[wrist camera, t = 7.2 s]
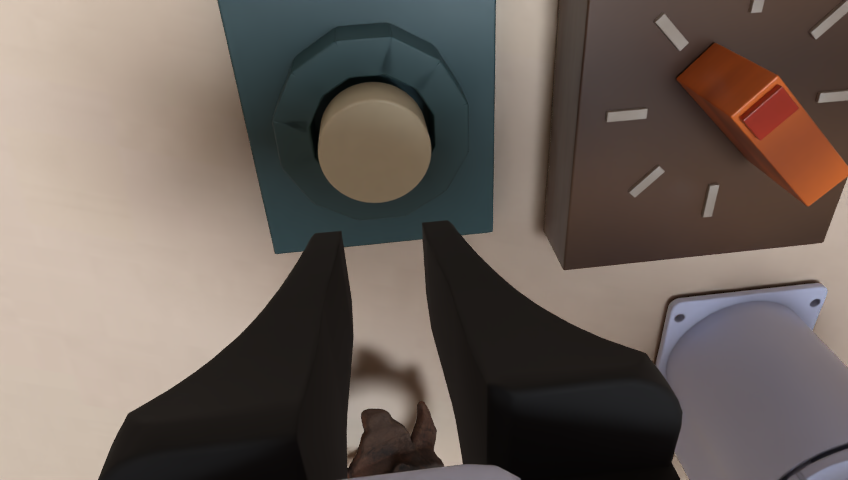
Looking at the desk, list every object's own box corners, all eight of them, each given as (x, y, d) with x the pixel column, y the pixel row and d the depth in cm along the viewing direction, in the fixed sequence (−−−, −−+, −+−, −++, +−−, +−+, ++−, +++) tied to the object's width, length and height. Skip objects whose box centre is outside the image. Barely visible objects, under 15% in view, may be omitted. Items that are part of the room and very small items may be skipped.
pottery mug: (349, 284, 28) (439, 441, 24) (401, 348, 36) (475, 473, 32) (119, 428, 27) (170, 618, 23) (226, 460, 35) (278, 605, 31)
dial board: (780, 207, 27) (826, 245, 25) (542, 231, 27) (564, 273, 24) (885, -127, 20) (965, -123, 18) (565, -105, 20) (599, -98, 17)
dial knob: (785, 129, 22) (858, 176, 19) (747, 160, 22) (813, 211, 19) (714, 41, 20) (784, 77, 17) (674, 78, 20) (734, 120, 17)
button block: (487, 218, 26) (502, 257, 24) (277, 239, 26) (270, 281, 23) (489, -66, 20) (510, -54, 18) (214, -46, 19) (195, -31, 17)
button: (428, 175, 22) (434, 198, 20) (327, 184, 21) (326, 209, 20) (423, 76, 20) (428, 94, 18) (312, 85, 19) (309, 105, 18)
